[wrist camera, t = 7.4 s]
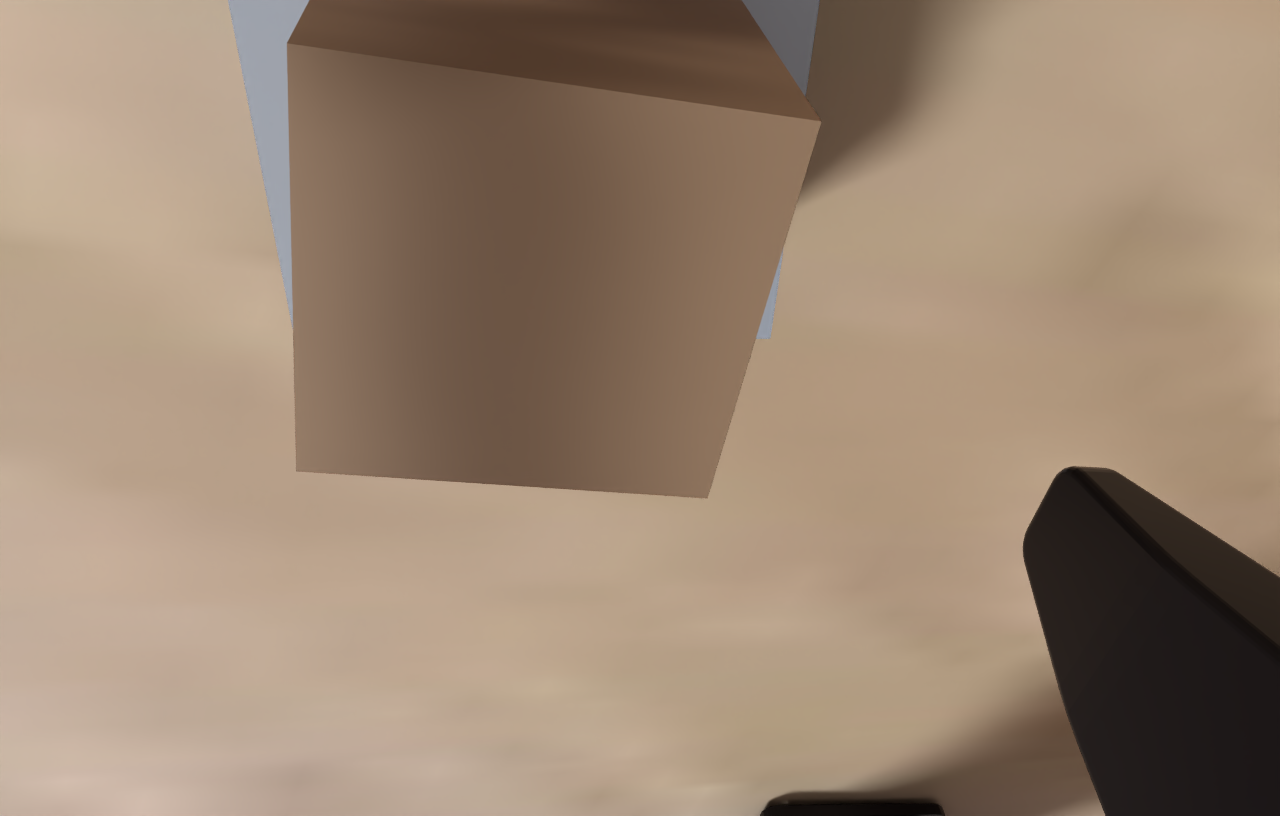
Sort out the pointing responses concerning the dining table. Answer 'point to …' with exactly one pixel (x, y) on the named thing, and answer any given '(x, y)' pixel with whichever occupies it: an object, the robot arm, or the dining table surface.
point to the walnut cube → (533, 235)
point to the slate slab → (262, 28)
